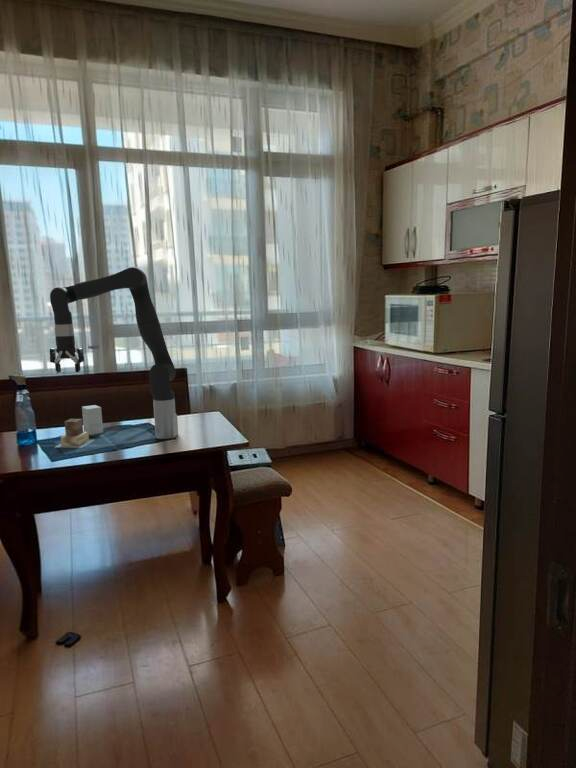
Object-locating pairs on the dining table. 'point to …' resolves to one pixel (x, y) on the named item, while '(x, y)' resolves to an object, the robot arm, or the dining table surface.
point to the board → (77, 446)
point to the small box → (92, 419)
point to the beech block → (74, 439)
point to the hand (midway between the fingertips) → (68, 372)
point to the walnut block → (73, 427)
